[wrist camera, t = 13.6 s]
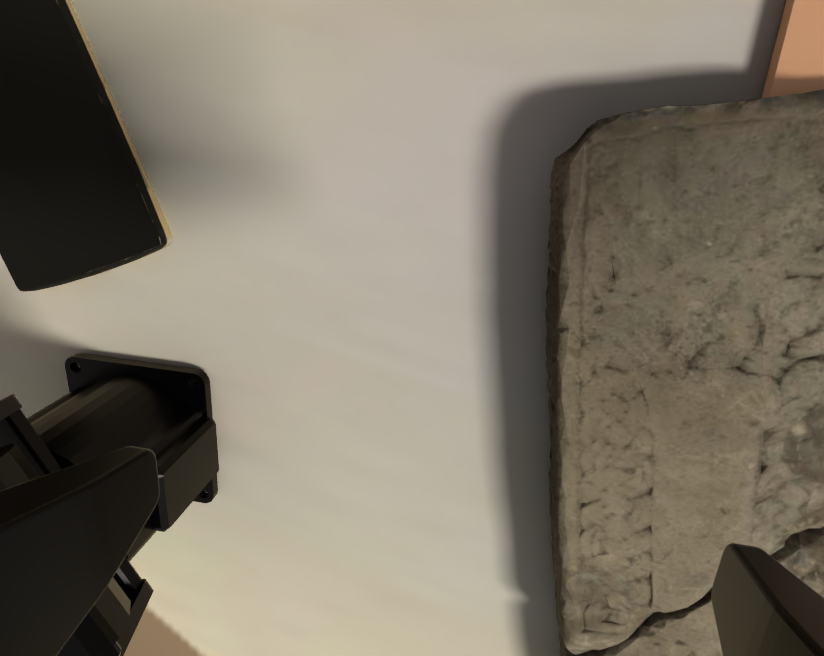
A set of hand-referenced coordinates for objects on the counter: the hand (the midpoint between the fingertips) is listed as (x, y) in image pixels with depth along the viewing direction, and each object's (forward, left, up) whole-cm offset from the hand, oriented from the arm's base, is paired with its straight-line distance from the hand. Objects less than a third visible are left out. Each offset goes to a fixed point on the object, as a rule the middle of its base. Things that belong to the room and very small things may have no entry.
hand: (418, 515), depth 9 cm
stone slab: (+9, -8, -13) cm, 18 cm away
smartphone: (-18, +6, -14) cm, 23 cm away
